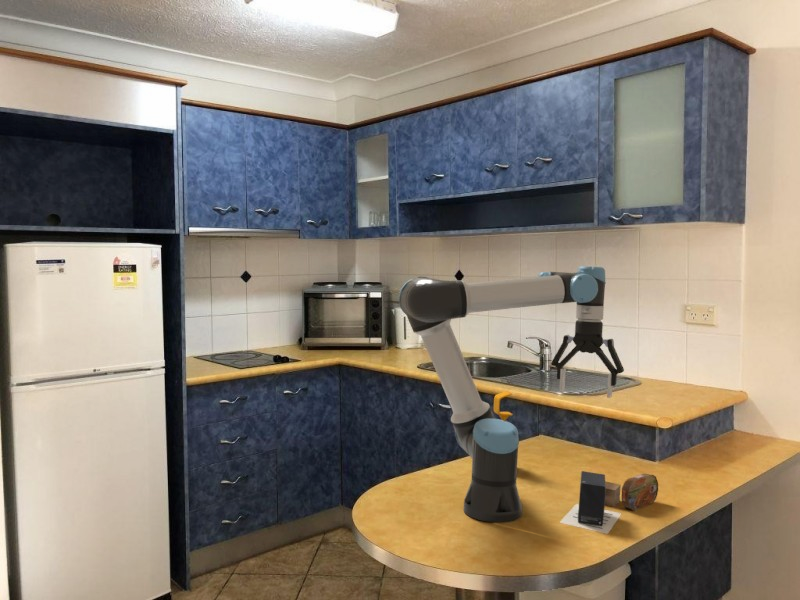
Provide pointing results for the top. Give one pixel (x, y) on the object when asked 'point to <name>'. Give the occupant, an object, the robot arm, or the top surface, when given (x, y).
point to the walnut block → (612, 494)
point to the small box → (592, 498)
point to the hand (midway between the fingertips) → (585, 393)
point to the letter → (608, 523)
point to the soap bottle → (497, 405)
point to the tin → (639, 491)
